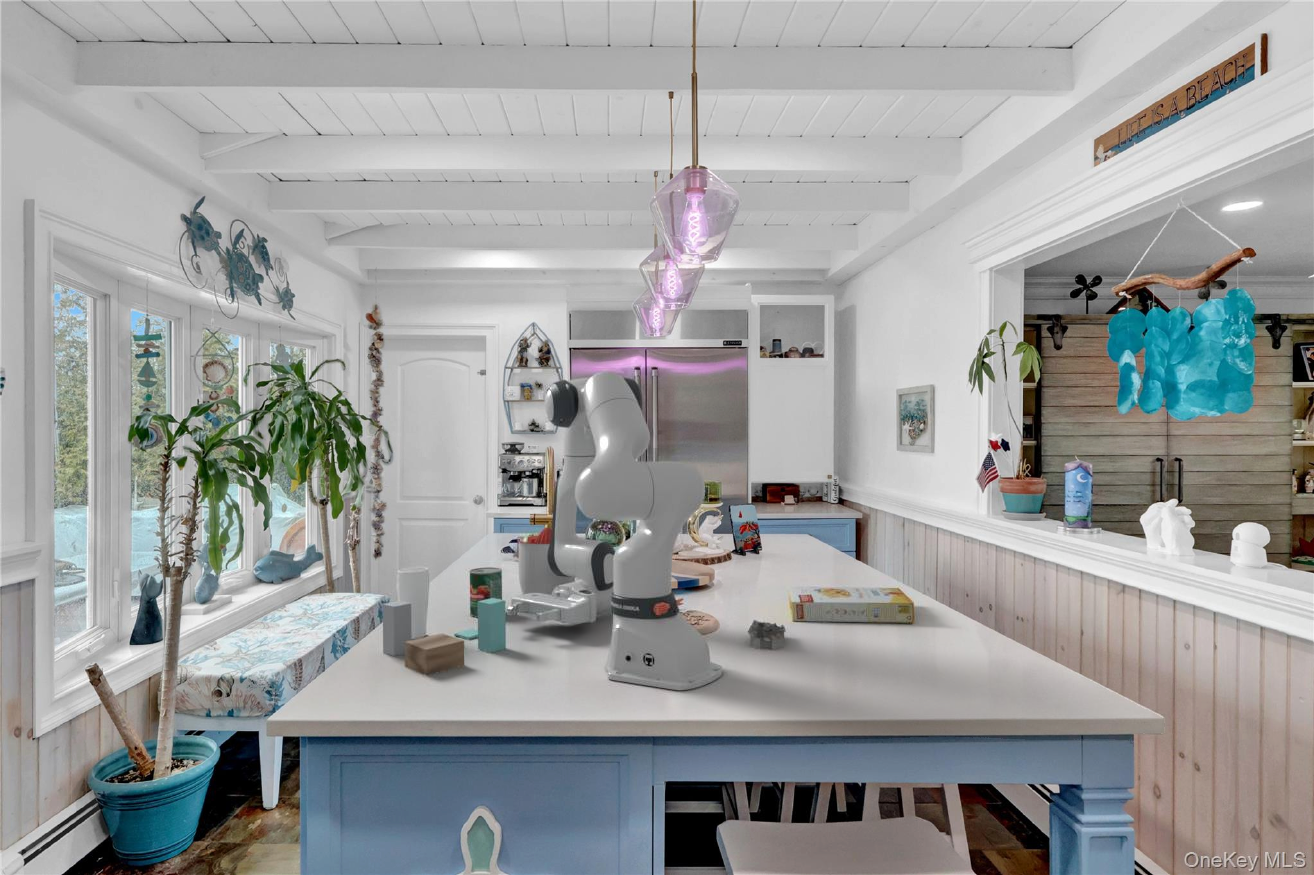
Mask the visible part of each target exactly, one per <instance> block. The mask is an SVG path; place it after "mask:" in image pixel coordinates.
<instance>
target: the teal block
mask: <svg viewBox="0 0 1314 875" xmlns="http://www.w3.org/2000/svg"><path fill="white" fill-rule="evenodd" d="M506 614H507V608H506V600H504V599H502V600H501V599H495V598H491V599H486V600H482V601H478V618H477V630H478V637H477V650H478V649H480V650H479V651H481V650H485V651H487V652H486V653H489V652H492V653H495V651H496V652H498V651H497V650H499V651H502V650H505V648H507V639H506V638H507V636H506V635H507V632H506V631H507V629H506V627H507V626H506V625H507V624H506V621H507V620H506ZM501 649H502V650H501ZM485 651H484V652H485Z"/></svg>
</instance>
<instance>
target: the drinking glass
mask: <svg viewBox="0 0 1314 875" xmlns="http://www.w3.org/2000/svg"><path fill="white" fill-rule="evenodd" d="M396 573H397V574H396V578H397V579H396V588H397V589H396V590H397V592H396V593H397V601H404V602H408V603H411V630H412V640H415V639H420V638H424V637H426V636H427V624H428V622H427V621H428V609H429V608H428V607H429V597H430V596H429V595H430V568H429V567H425V566H410V567H409V566H407V567H406V566H405V567H402V568H399V569H398V570H397V572H396Z"/></svg>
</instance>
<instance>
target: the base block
mask: <svg viewBox="0 0 1314 875" xmlns="http://www.w3.org/2000/svg"><path fill="white" fill-rule="evenodd" d="M462 665H464V666H465V640H463V639H460V638H458V637H455V636H451V635H448V634H445V633H439V634H434V635H430V636H424V637H422V638H419V639H412V640H411V641H406V642H405V654H404V667H405V668H408V669H410V670H412V671H414V672H417V673H419V672H420V674H422V675H424V674H425V676H426V675H427V676H430V674H431V675H435V674H437V673H436V672H438V673H441V671H442V672H444V671H443V670H446V671H448V669H450V670H452V669H451V668H453V669H456V668H455V667H457V668H459V667H458V666H461V667H463V666H462ZM434 673H435V674H434Z"/></svg>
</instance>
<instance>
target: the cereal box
mask: <svg viewBox="0 0 1314 875" xmlns="http://www.w3.org/2000/svg"><path fill="white" fill-rule="evenodd" d="M788 605H789V610H790V616H791V621H792V622H815V623H816V622H817V623H818V622H819V623H821V622H822V623H823V622H824V623H825V622H826V623H828V622H829V623H831V622H832V623H834V622H835V623H836V622H837V623H839V622H840V623H841V622H842V623H844V622H845V623H902V624H903V623H904V624H905V623H906V624H907V623H908V624H911V623H915V603H914V601H912V599H911V598H910V597H909V596H908V595H907V594H905V592H904V591H903V590H902V589H901V588H899V587H847V586H846V587H843V586H841V587H840V586H837V587H835V586H790V585H788Z"/></svg>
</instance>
